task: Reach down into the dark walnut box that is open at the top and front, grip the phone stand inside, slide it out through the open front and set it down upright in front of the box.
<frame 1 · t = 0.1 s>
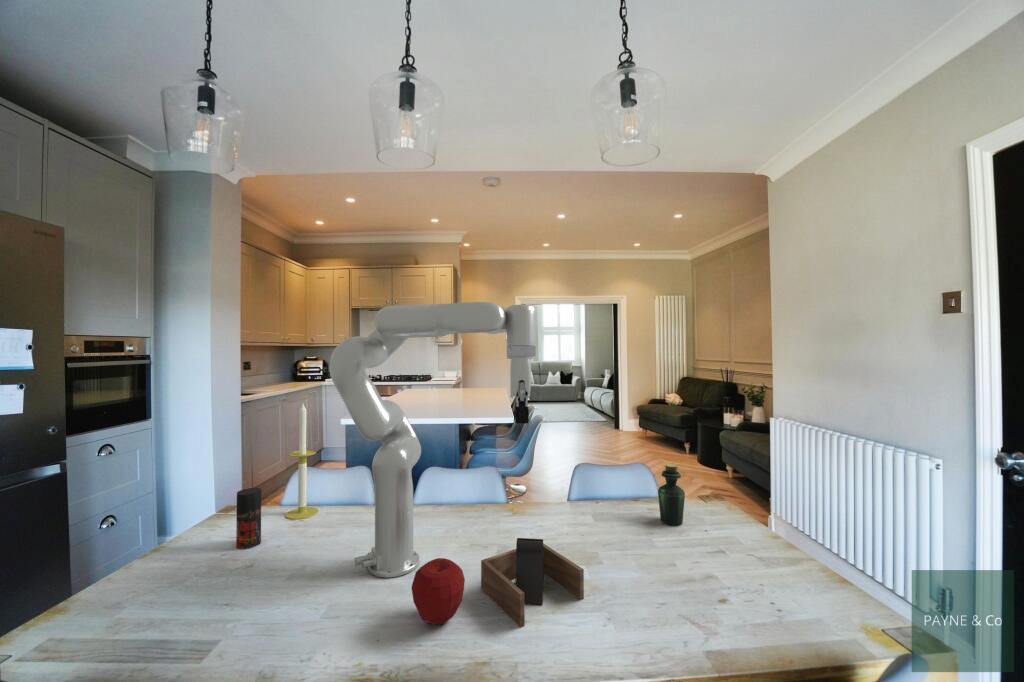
hand: (521, 419, 106), 37 cm above the table, tool pointing down, fingers open, 9 cm apart
potion bottle: (671, 522, 132), on the table
open box: (532, 594, 93), on the table
candle: (302, 514, 139), on the table
apple: (438, 619, 85), on the table
deodorant: (248, 545, 117), on the table
phone stand: (530, 593, 94), on the table
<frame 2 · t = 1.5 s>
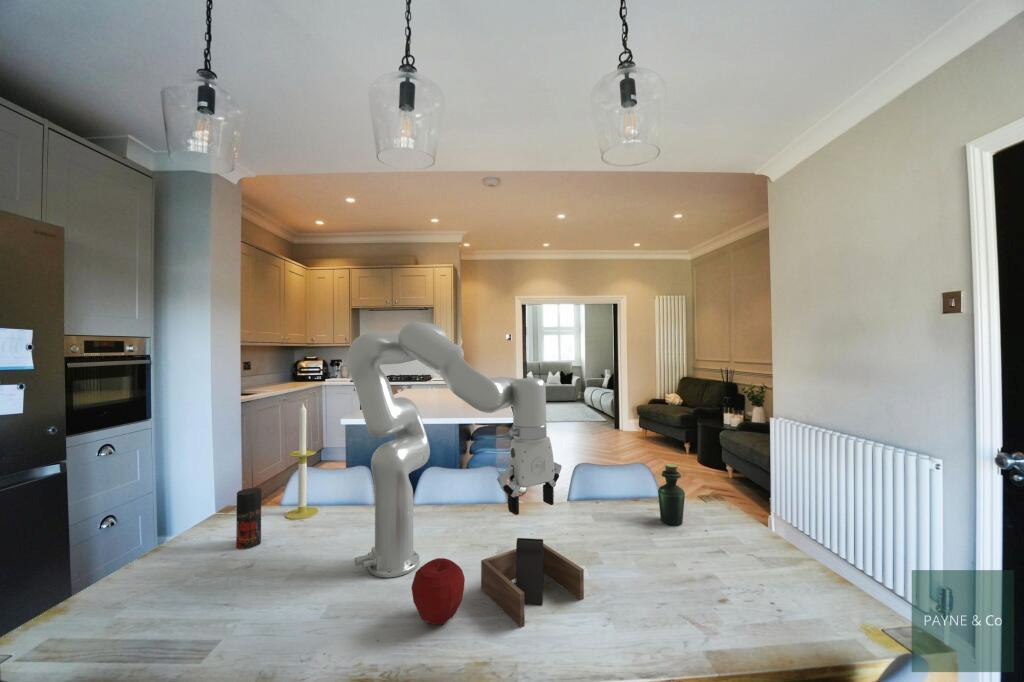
hand: (531, 508, 94), 19 cm above the table, tool pointing down, fingers open, 9 cm apart
nothing on the table moved.
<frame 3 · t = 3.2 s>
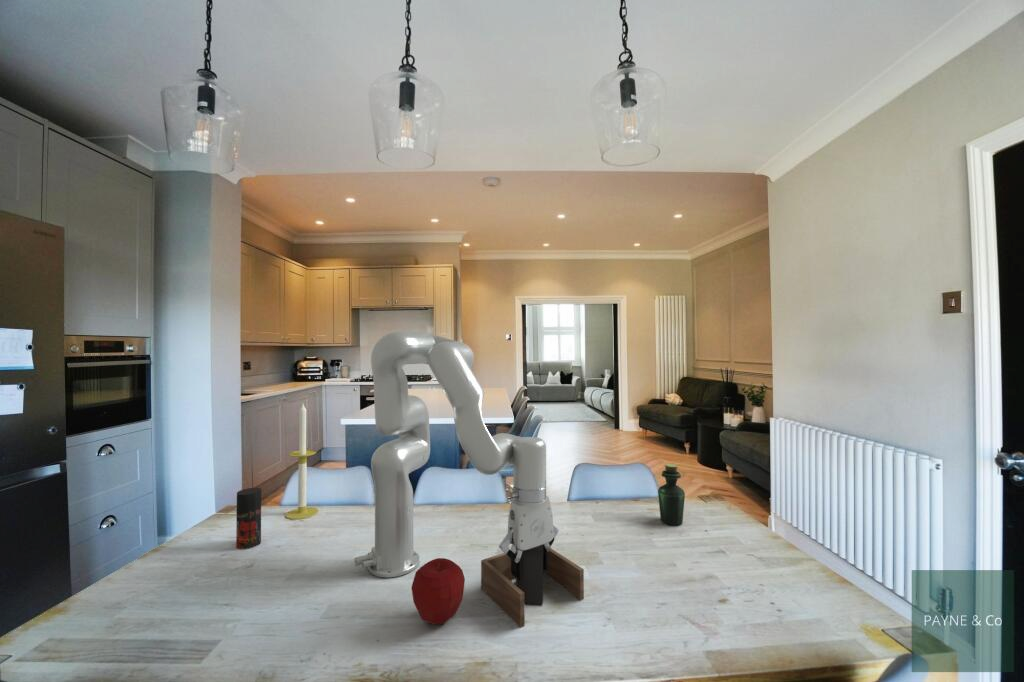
hand: (530, 571, 94), 5 cm above the table, tool pointing down, fingers closed on phone stand, 6 cm apart
phone stand: (530, 593, 94), on the table, touching gripper
everything else where it was.
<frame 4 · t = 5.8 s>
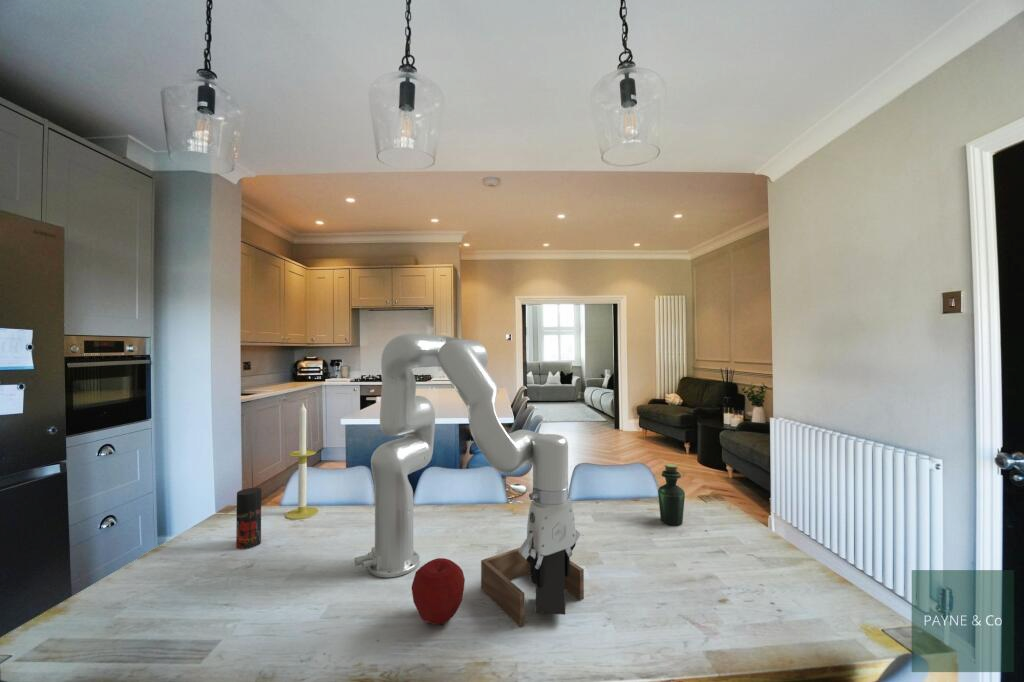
hand: (550, 578, 88), 7 cm above the table, tool pointing down, fingers closed on phone stand, 6 cm apart
phone stand: (550, 601, 87), point 2 cm above the table, touching gripper
everything else where it was.
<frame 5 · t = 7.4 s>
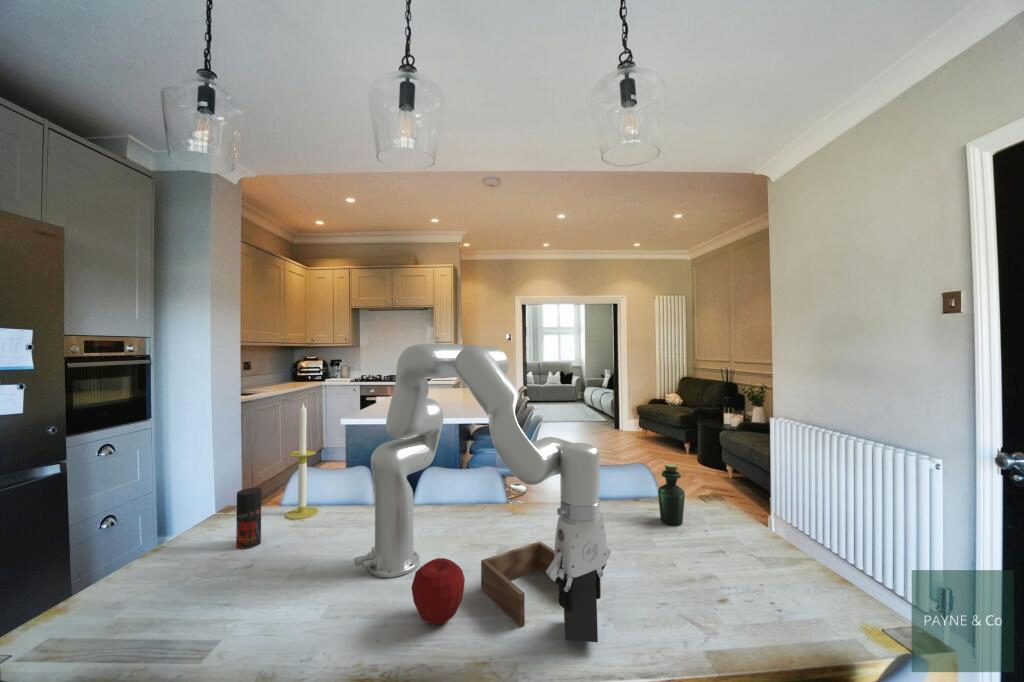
hand: (579, 600, 80), 7 cm above the table, tool pointing down, fingers closed on phone stand, 6 cm apart
phone stand: (579, 626, 80), point 2 cm above the table, touching gripper
everything else where it was.
when the fingers open (5 cm above the table, at t = 8.4 s): phone stand stays where it is, on the table.
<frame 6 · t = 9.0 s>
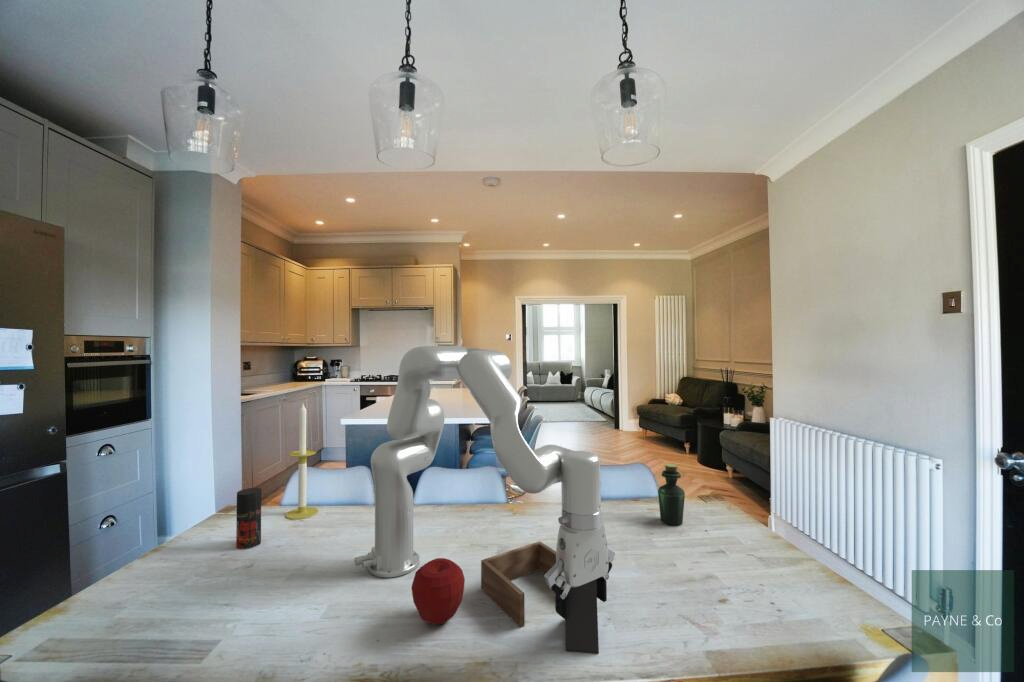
hand: (581, 606, 80), 6 cm above the table, tool pointing down, fingers open, 9 cm apart
phone stand: (580, 636, 80), on the table
everything else where it was.
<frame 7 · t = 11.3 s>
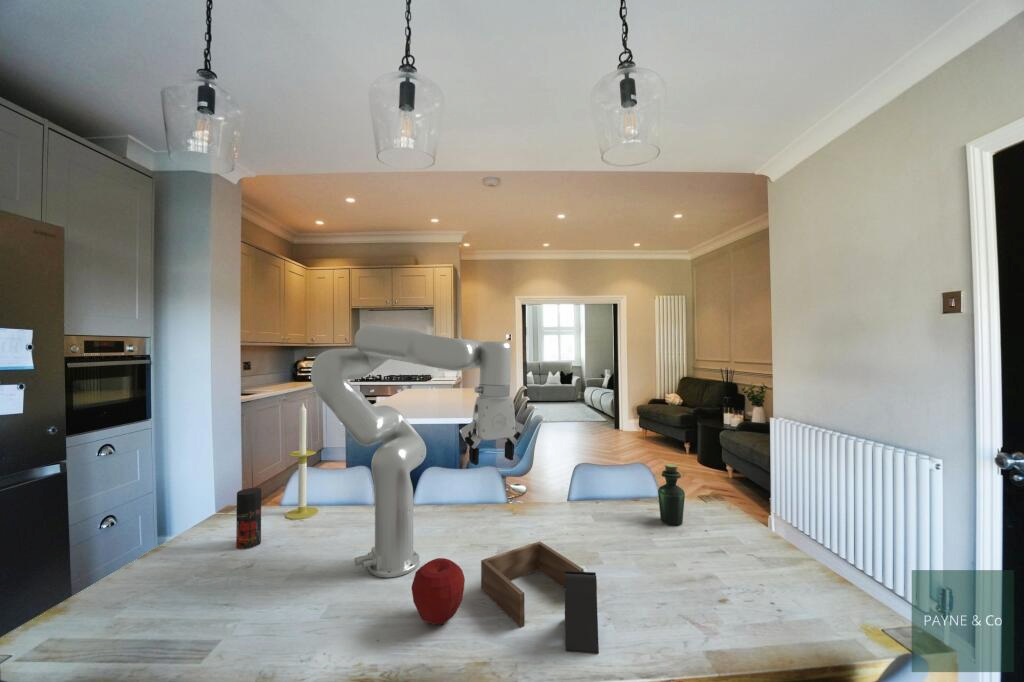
hand: (491, 461, 101), 28 cm above the table, tool pointing down, fingers open, 9 cm apart
nothing on the table moved.
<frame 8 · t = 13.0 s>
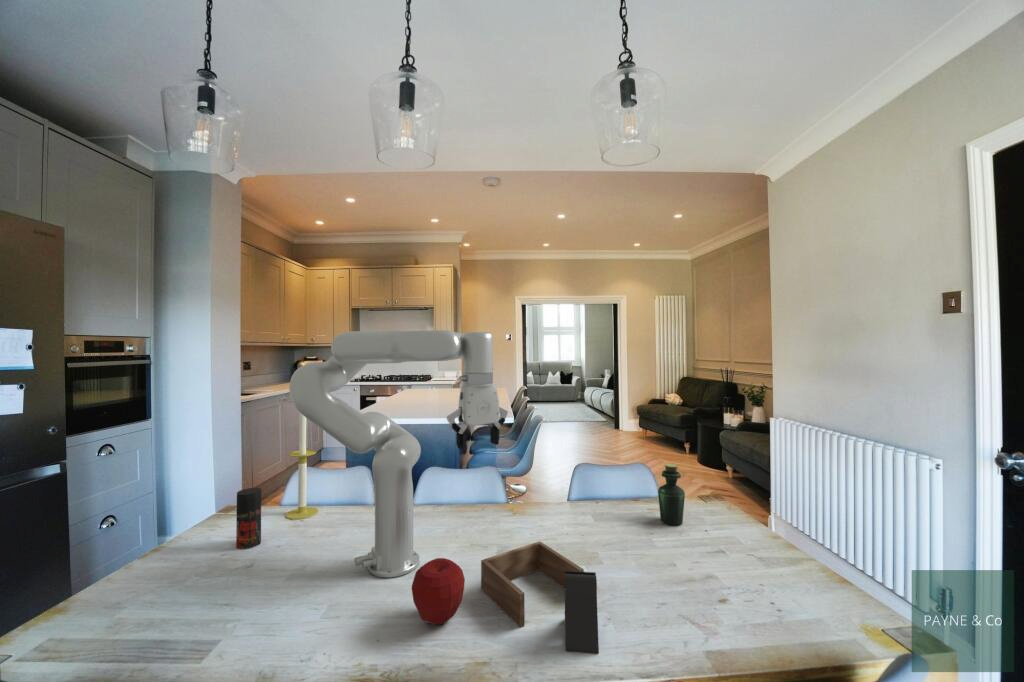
hand: (478, 446, 106), 30 cm above the table, tool pointing down, fingers open, 9 cm apart
nothing on the table moved.
at the end: phone stand inside the target area on the table beside the open box (1.7 cm from its centre), on the table; phone stand tilted 0°; the gripper is holding nothing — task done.
